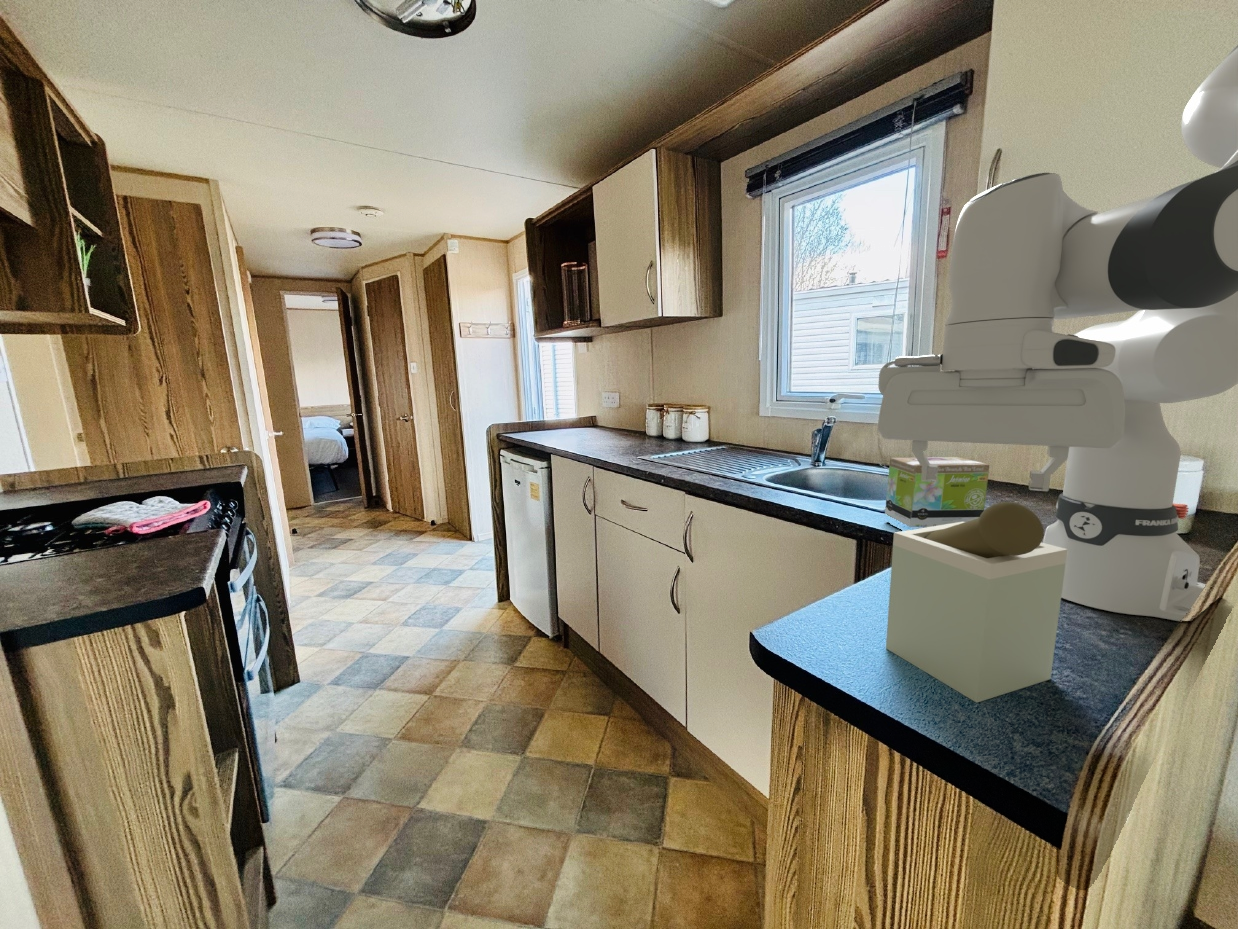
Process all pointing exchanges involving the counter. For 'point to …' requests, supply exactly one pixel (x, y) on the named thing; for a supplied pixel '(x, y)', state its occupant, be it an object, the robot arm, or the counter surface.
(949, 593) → the open top box
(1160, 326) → the robot arm
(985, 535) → the cork
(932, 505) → the tea box
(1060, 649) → the counter surface
